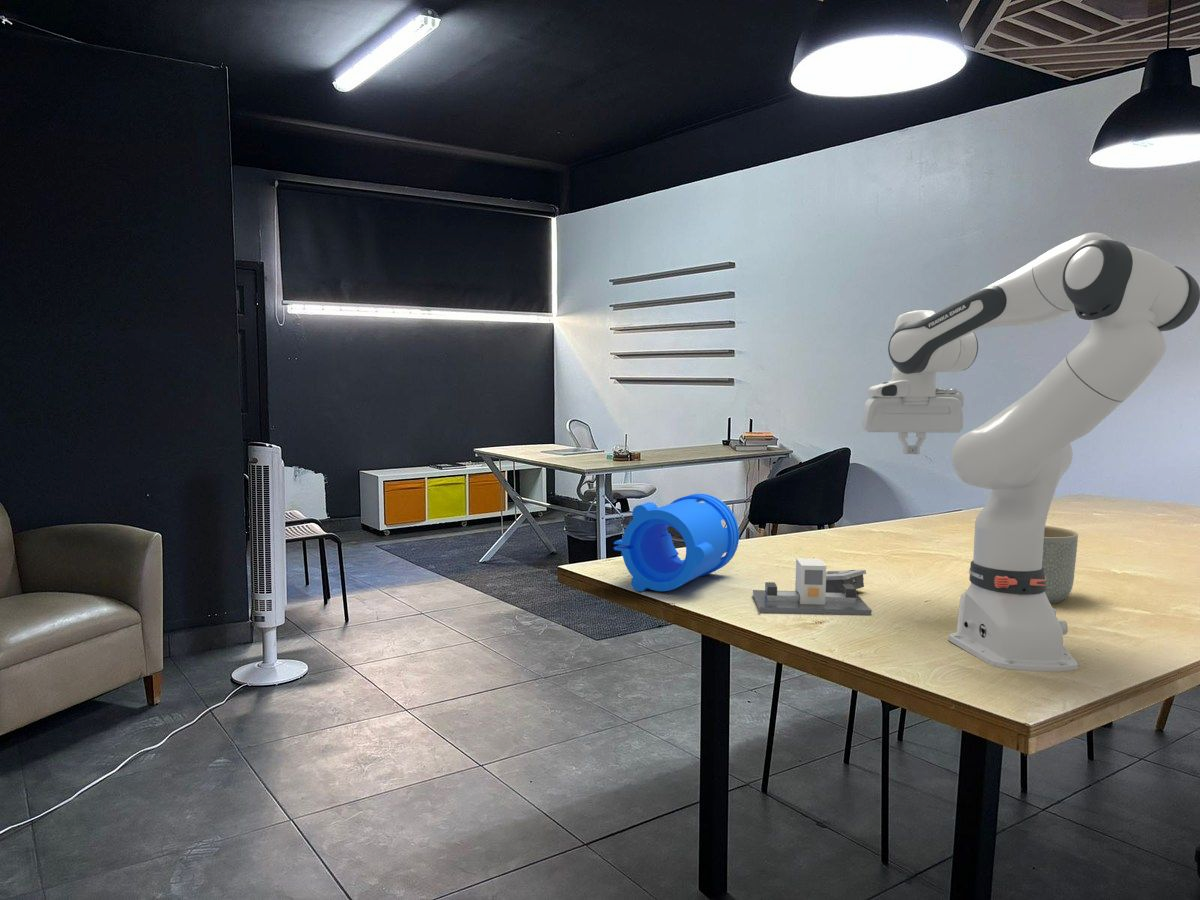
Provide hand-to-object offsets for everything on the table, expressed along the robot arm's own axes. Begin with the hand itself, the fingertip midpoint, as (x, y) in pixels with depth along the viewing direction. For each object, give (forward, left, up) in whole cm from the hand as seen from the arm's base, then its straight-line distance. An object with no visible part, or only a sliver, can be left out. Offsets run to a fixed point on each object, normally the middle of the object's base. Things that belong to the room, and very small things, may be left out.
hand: (911, 454), depth 181 cm
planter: (+4, -28, -32) cm, 42 cm away
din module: (-7, +21, -30) cm, 38 cm away
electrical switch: (+9, +10, -32) cm, 34 cm away
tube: (+12, +48, -32) cm, 59 cm away
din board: (-7, +21, -32) cm, 39 cm away
